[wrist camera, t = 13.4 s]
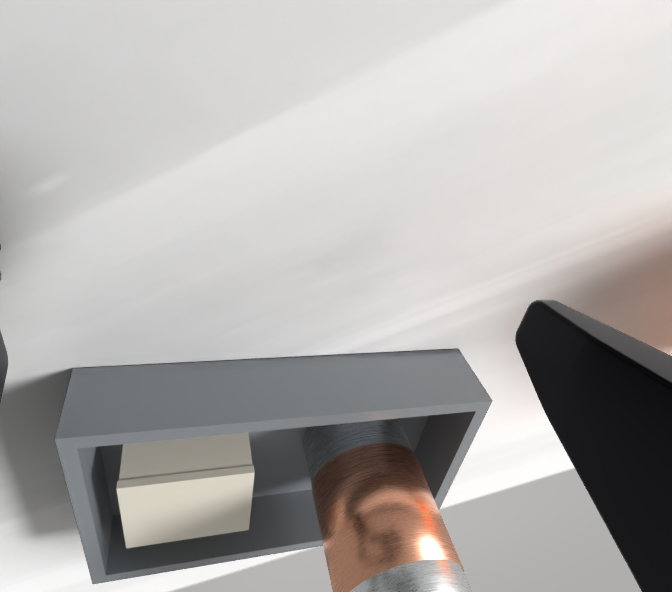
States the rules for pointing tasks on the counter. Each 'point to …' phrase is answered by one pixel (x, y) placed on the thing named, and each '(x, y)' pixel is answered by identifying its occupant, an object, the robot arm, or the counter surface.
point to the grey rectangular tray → (253, 439)
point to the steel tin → (378, 511)
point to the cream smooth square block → (185, 488)
